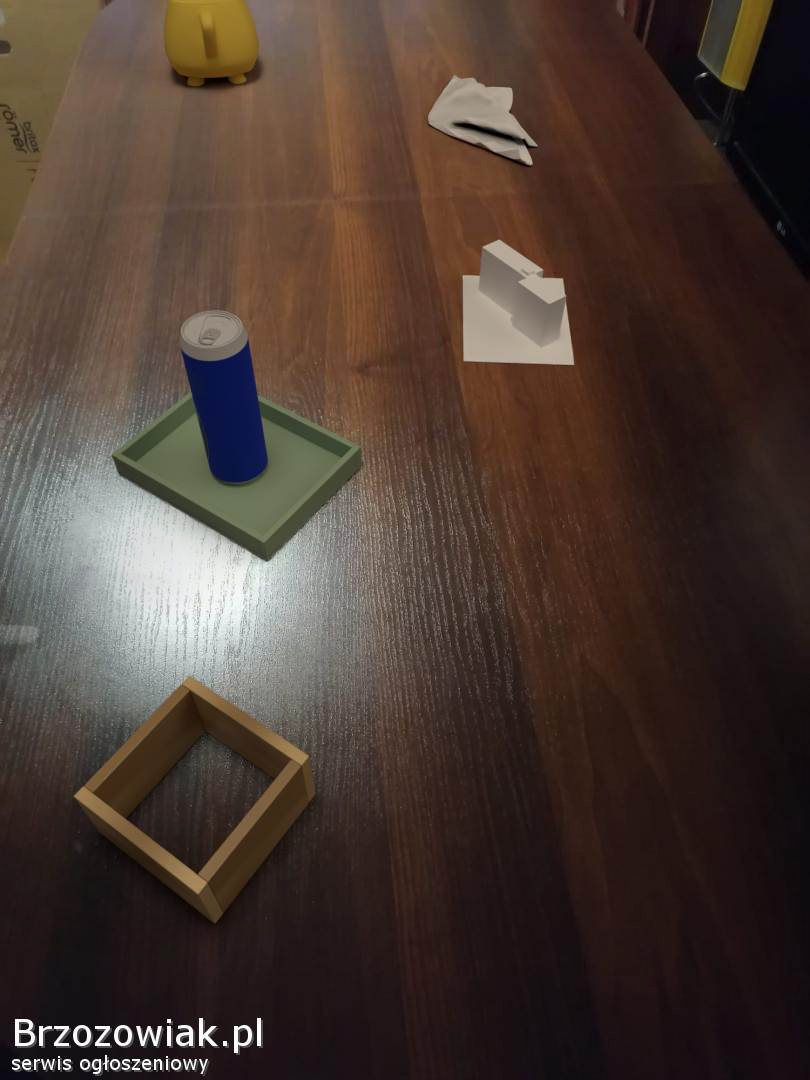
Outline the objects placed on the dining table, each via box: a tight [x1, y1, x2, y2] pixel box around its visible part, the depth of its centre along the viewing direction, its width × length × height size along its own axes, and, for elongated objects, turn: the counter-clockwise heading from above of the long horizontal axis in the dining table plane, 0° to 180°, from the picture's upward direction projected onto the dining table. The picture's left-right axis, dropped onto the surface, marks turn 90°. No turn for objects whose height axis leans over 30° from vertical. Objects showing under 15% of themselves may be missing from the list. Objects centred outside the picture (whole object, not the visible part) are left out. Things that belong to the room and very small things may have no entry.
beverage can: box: [179, 309, 268, 484], centre depth 71 cm, size 5×5×15 cm
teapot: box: [163, 0, 260, 87], centre depth 123 cm, size 13×20×12 cm
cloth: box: [427, 74, 539, 167], centre depth 118 cm, size 26×14×2 cm, turn 6°
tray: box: [111, 391, 363, 562], centre depth 76 cm, size 17×13×2 cm
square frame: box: [73, 675, 316, 925], centre depth 55 cm, size 10×10×6 cm
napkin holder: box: [462, 239, 575, 366], centre depth 89 cm, size 15×11×6 cm
